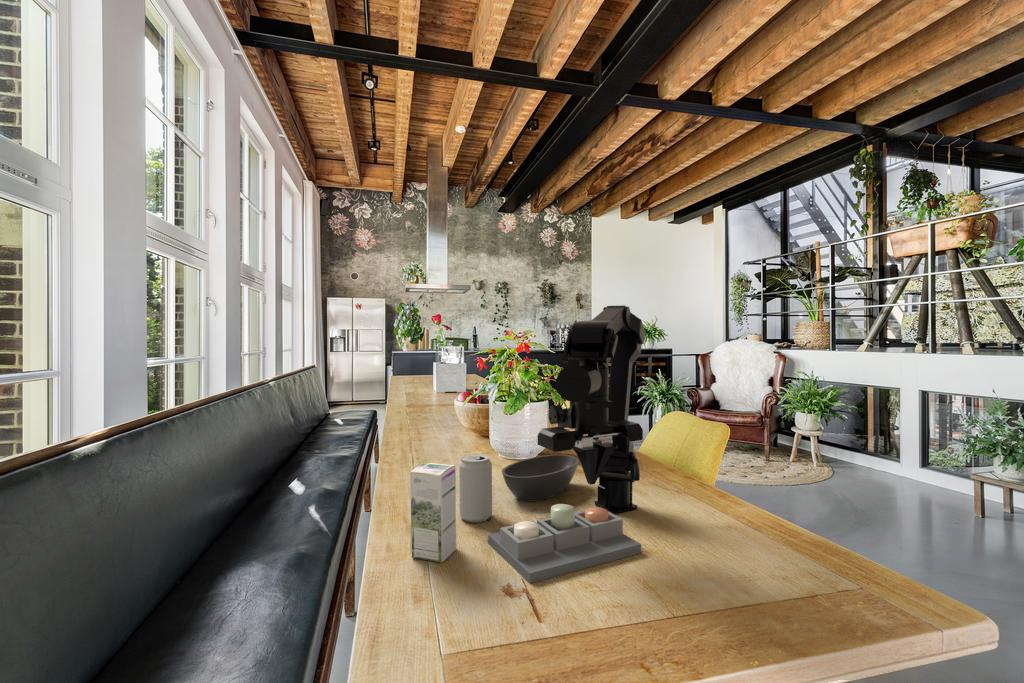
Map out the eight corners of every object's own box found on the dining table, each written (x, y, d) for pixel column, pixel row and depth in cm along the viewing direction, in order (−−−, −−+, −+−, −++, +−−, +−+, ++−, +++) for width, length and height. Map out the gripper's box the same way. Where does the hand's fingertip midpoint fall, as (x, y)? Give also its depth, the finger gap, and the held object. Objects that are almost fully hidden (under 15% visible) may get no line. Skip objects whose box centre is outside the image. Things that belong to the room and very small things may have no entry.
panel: (587, 521, 95) (587, 499, 95) (641, 553, 82) (641, 527, 82) (488, 543, 86) (487, 519, 85) (529, 583, 72) (529, 555, 72)
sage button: (566, 520, 86) (566, 502, 86) (579, 529, 83) (579, 510, 82) (546, 524, 84) (546, 506, 84) (559, 533, 81) (559, 514, 81)
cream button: (531, 538, 83) (531, 519, 83) (543, 548, 80) (543, 528, 79) (509, 543, 81) (509, 524, 81) (521, 553, 78) (521, 533, 78)
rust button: (598, 523, 89) (598, 505, 89) (612, 531, 86) (612, 513, 86) (580, 527, 88) (580, 509, 87) (593, 535, 84) (594, 517, 84)
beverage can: (487, 525, 93) (487, 462, 93) (455, 522, 94) (454, 460, 94) (495, 512, 99) (495, 453, 99) (464, 510, 101) (464, 452, 100)
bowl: (592, 486, 115) (592, 460, 115) (528, 512, 100) (528, 482, 99) (552, 476, 124) (552, 451, 124) (487, 498, 108) (487, 470, 108)
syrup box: (457, 548, 84) (457, 463, 83) (441, 564, 78) (440, 473, 78) (427, 543, 85) (426, 460, 85) (409, 559, 80) (408, 470, 79)
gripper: (605, 386, 97) (605, 465, 97) (521, 392, 88) (522, 478, 89) (645, 393, 87) (644, 481, 87) (555, 400, 78) (555, 497, 79)
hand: (591, 483), depth 86 cm, fingers closed
